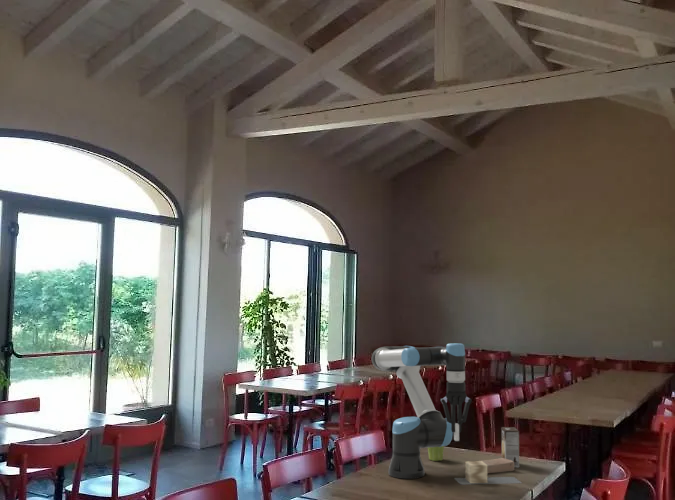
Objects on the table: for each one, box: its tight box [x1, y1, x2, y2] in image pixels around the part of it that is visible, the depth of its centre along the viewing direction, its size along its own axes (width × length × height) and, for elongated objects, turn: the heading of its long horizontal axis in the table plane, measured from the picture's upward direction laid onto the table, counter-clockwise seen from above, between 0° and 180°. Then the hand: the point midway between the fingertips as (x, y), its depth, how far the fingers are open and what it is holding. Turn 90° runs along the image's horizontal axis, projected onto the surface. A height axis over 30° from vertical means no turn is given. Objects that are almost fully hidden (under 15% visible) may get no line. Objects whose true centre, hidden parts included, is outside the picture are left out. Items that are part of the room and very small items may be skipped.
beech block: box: [464, 460, 488, 483], centre depth 284 cm, size 7×7×7 cm
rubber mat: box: [453, 476, 523, 486], centre depth 284 cm, size 26×10×1 cm, turn 96°
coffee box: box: [500, 426, 520, 468], centre depth 314 cm, size 9×6×16 cm
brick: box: [479, 457, 515, 474], centre depth 302 cm, size 17×8×5 cm, turn 112°
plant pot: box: [427, 446, 445, 462], centre depth 323 cm, size 9×9×9 cm
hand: (456, 440), depth 284 cm, fingers closed
